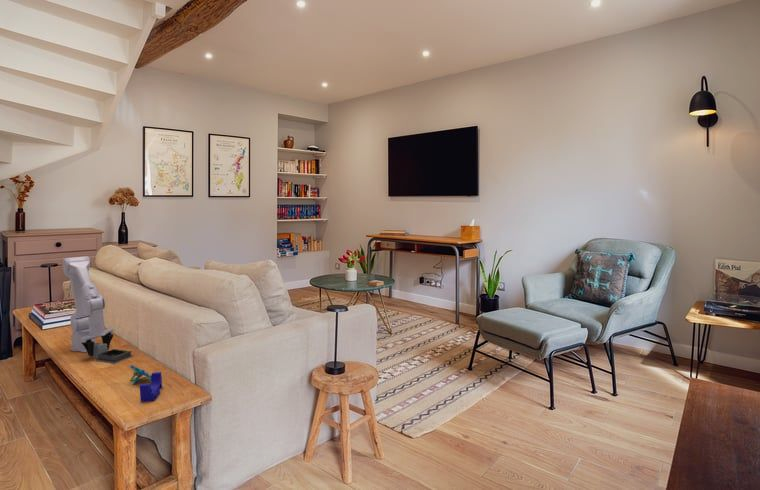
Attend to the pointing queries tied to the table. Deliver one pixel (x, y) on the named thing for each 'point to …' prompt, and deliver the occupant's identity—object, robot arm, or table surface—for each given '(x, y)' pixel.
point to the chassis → (114, 356)
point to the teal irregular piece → (138, 374)
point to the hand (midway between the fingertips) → (98, 352)
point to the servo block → (99, 349)
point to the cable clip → (151, 388)
